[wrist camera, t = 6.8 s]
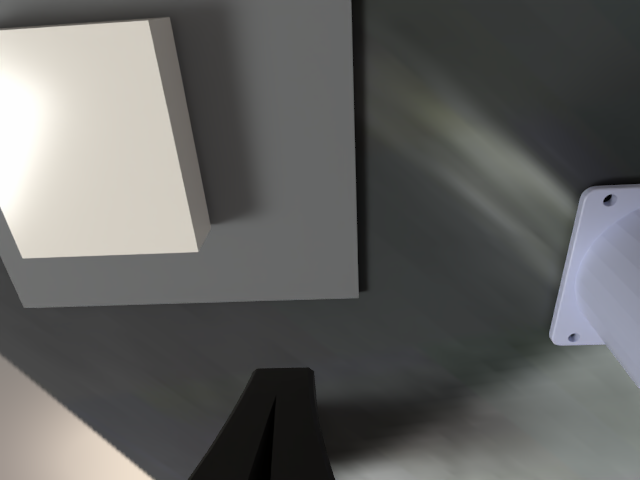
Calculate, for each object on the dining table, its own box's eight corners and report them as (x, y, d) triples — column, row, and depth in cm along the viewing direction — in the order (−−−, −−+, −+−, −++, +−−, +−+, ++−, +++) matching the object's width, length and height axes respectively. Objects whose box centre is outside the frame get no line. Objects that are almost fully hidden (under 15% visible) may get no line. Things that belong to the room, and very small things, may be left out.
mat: (347, -146, 14) (347, -150, 13) (358, 292, 21) (358, 297, 21) (-153, -102, 15) (-165, -105, 14) (29, 303, 22) (24, 307, 22)
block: (148, 20, 14) (-75, 35, 14) (198, 252, 17) (22, 258, 18) (171, 16, 16) (-24, 29, 16) (212, 225, 19) (53, 231, 20)
